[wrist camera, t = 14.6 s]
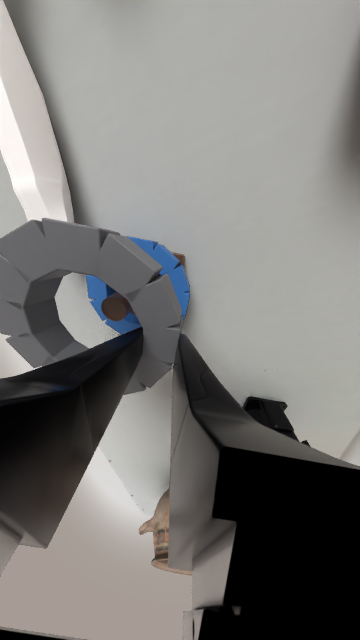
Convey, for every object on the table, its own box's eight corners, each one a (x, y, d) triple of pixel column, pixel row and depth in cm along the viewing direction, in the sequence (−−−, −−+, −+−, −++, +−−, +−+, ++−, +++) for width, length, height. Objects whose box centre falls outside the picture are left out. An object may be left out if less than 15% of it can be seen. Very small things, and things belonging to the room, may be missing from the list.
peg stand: (172, 327, 20) (164, 363, 13) (106, 315, 19) (65, 346, 13) (184, 254, 16) (180, 257, 9) (101, 239, 15) (40, 232, 9)
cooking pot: (151, 491, 45) (139, 569, 34) (144, 462, 37) (125, 552, 26) (233, 499, 44) (247, 583, 33) (245, 470, 36) (270, 569, 25)
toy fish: (58, 250, 16) (20, 250, 13) (-74, -88, 9) (-265, -333, 5) (104, 246, 16) (79, 245, 12) (9, -117, 8) (-137, -411, 4)
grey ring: (169, 383, 12) (166, 406, 10) (46, 362, 12) (21, 381, 10) (195, 246, 8) (197, 245, 6) (-1, 211, 8) (-61, 198, 6)
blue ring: (180, 337, 19) (179, 346, 17) (101, 323, 19) (92, 330, 17) (198, 249, 14) (199, 249, 13) (94, 230, 14) (80, 227, 12)
